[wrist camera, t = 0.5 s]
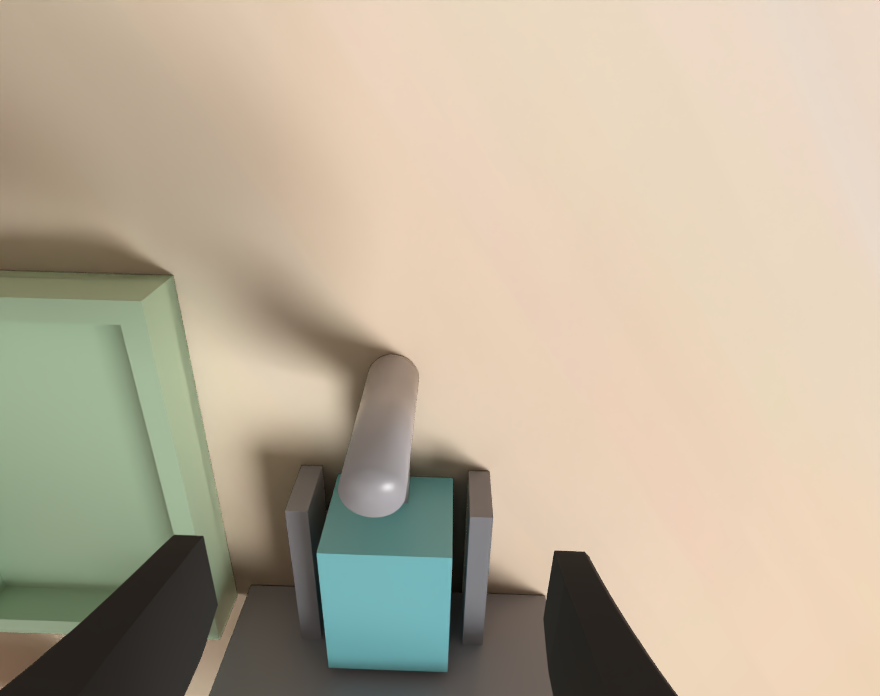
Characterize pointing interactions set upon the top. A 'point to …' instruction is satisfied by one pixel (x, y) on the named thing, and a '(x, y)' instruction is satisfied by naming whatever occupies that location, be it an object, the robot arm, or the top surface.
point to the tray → (97, 445)
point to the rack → (384, 691)
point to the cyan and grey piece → (387, 540)
